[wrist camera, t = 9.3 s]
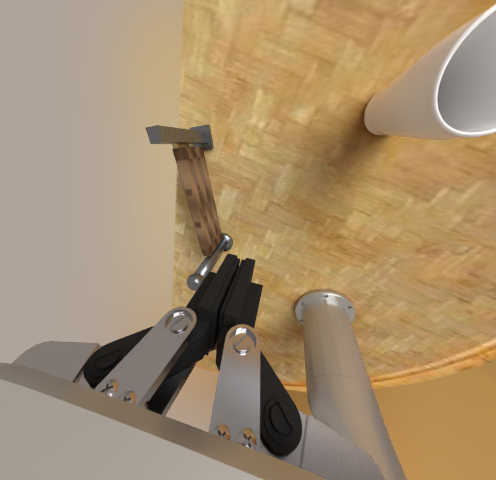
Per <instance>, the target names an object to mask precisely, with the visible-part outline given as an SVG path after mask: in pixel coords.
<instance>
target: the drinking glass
mask: <svg viewBox="0 0 496 480" xmlns="http://www.w3.org/2000/svg"><path fill="white" fill-rule="evenodd" d="M364 123H365V126H366V128H367V129H368V131H370V132H371V133H373V134H375V135H391V136H399V137H407V138H414V139H424V140H449V139H462V138H472V137H481V136H486V135H490V134H493V133H496V4H495V5H493V6H492V7H490V8H488V9H487V10H485V11H484V12H482V13H480V14H479V15H477V16H476V17H474V18H473V19H471V20H469V21H468V22H466V23H465V24H463V25H462V26H460V27H459V28H457V29H456V30H455V31H453V32H452V33H450V34H449V35H448V36H446V37H445V38H443V39H442V40H441V41H440V42H438V43H437V44H436V45H434V46H433V47H432V48H431V49H429V50H428V51H427V52H426V53H424V54H423V55H422V56H421V57H420V58H419V59H417V60H416V61H415V62H414V63H413V64H412V65H410V66H409V67H408V68H407V69H406V70H405V71H403V72H402V73H401V74H400V75H399V76H398V77H396V78H395V79H394V80H393V81H392V82H390V83H389V84H388V85H387V86H385V87H384V88H382V89H381V90H379V91H378V92H377V93H376V94H375V95H374V96H373V97H372V99H371V100H370V101H369V103H368V105H367V107H366V110H365V114H364Z"/></svg>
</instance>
